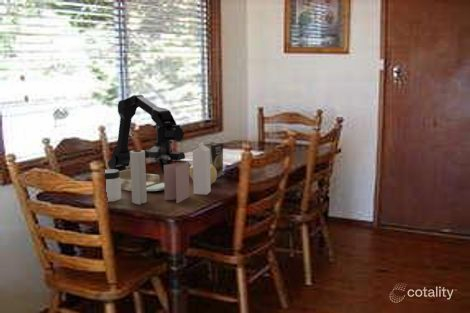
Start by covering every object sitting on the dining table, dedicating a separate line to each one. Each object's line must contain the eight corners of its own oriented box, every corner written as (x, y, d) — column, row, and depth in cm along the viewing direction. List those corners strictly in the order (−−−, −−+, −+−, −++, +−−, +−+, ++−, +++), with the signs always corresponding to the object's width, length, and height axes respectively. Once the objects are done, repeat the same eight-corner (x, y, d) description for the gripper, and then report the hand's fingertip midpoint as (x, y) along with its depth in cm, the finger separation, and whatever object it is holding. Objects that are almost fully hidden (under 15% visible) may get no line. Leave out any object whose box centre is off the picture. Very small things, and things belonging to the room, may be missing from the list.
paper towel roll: (137, 199, 245) (134, 149, 242) (149, 201, 243) (147, 149, 239) (127, 204, 239) (125, 152, 235) (140, 205, 237) (138, 152, 233)
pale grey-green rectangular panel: (140, 189, 259) (158, 188, 254) (160, 182, 271) (178, 181, 266) (140, 192, 259) (158, 192, 254) (160, 185, 271) (178, 184, 266)
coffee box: (213, 179, 283) (212, 145, 280) (202, 177, 286) (201, 144, 283) (223, 175, 290) (223, 143, 287) (213, 174, 294) (212, 142, 291)
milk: (193, 194, 254) (191, 143, 250) (197, 190, 260) (196, 141, 256) (207, 194, 253) (205, 143, 249) (211, 191, 258) (209, 141, 254)
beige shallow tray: (113, 188, 266) (112, 173, 264) (135, 181, 279) (135, 167, 278) (137, 192, 259) (136, 176, 258) (159, 184, 272) (159, 169, 271)
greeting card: (188, 196, 250) (187, 161, 247) (196, 200, 244) (196, 164, 241) (163, 200, 244) (162, 164, 241) (172, 204, 238) (170, 167, 235)
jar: (123, 200, 245) (122, 172, 243) (103, 202, 241) (102, 174, 239) (117, 195, 253) (116, 168, 251) (98, 198, 249) (97, 170, 247)
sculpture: (186, 186, 269) (186, 162, 267) (199, 180, 280) (199, 158, 278) (209, 188, 264) (208, 164, 262) (221, 182, 275) (220, 160, 273)
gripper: (134, 140, 255) (136, 175, 257) (169, 143, 245) (171, 179, 248) (150, 136, 264) (152, 170, 267) (185, 139, 255) (186, 174, 258)
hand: (164, 174), depth 260 cm, fingers closed
